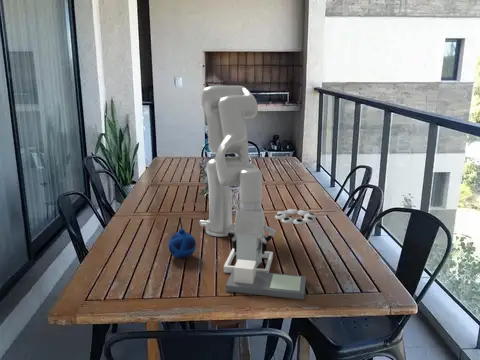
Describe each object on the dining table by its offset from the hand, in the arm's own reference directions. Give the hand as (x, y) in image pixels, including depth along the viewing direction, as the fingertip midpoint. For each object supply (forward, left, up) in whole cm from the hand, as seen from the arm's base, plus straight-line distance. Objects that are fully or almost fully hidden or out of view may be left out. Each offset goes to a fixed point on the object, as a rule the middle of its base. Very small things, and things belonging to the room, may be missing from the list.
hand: (249, 251), depth 148 cm
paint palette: (+13, +53, -6) cm, 55 cm away
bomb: (-25, +1, -5) cm, 26 cm away
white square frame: (0, 0, -5) cm, 5 cm away
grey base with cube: (+8, -14, -5) cm, 17 cm away
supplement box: (0, 0, -5) cm, 5 cm away
